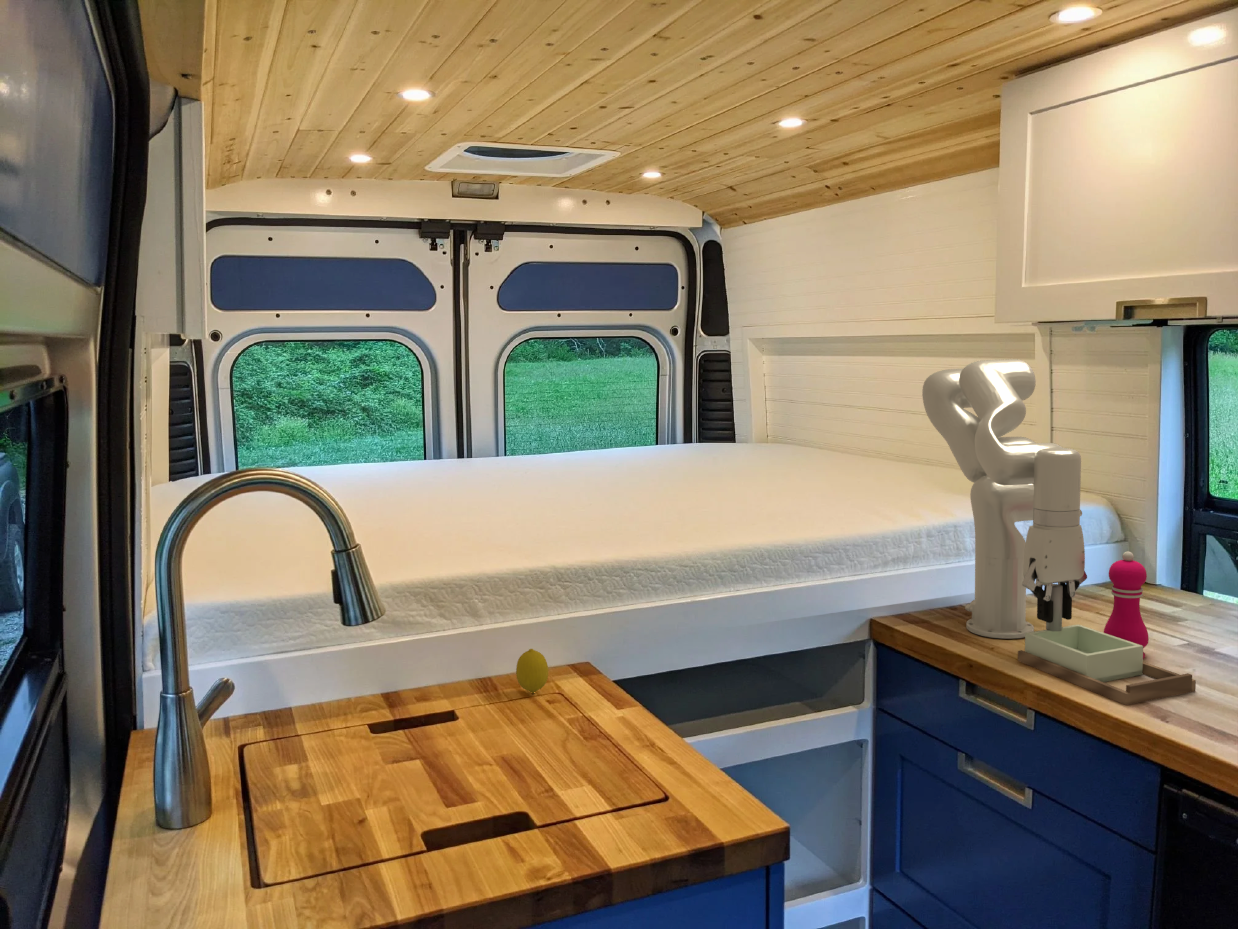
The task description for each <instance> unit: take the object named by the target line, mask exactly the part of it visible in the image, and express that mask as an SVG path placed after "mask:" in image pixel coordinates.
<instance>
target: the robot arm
mask: <svg viewBox="0 0 1238 929" xmlns="http://www.w3.org/2000/svg"><path fill="white" fill-rule="evenodd" d="M1036 382H1037V379H1036V375H1035V371H1034V369H1033V368H1032V367H1031V365H1029V363H1027V362H1026V361H1024V360H1022V359H1018V358H1015V359H1014V358H1013V359H1012V358H1010V359H985V360H984V359H981V360H976V361H974V362H971V363H969V364H967V365H966V366H964V367H963V368H950V369H943V370H942V369H941V370H939V371H936V372H934V373H931V374H930V375H929V376H927V377H926V379H925V380H924V383H923V385H922V391H921V392H922V395H921V397H922V402H923V403H922V404H923V407H924V410H925V413H926V416H927V417H928V419H929V421H930V423H931V424H932V426H933V427H934V428H935V429H936V431H937V432H938V433H939V434H940V436H941V437H943V439H944V440H945V441H946V443H947V445H948V447H949V449H950V451H951V452H952V455H953V457H954V459H955V461H956V462H957V465H958V466H959V468H960V470H961V472H962V474H963V475H964V476H965V477H966V479H967V480H969V481H970V482H971V483H973V484H972V485H971V488H970V497H969V498H970V503H971V504H970V505H971V510H972V516H973V523H974V541H975V542H974V544H975V545H974V551H975V552H974V554H975V555H974V599H973V600H972V601H971V602H970V603H967V604H966V605H965V607H964V610H966V611H968V612H971V618H970V619H968V620H967V621H966V622H965V623H966V630H968V631H969V632H971V633H973V634H975V635H978V636H981V637H986V638H991V639H1007V640H1011V639H1013V640H1014V639H1023V638H1024V639H1025V633H1028V632H1035V627H1034V625H1033V624H1032V623H1031V622H1029V621H1027V619H1026V618H1027V617H1026V614H1027V613H1026V612H1027V610H1026V609H1027V590H1030V592H1031V593H1032V594H1033V596H1034V598H1036V599H1037V601H1036V618H1037V620H1039V621H1042V622H1045V623H1046V622H1048V623H1051V622H1052V621H1053V601H1052V600H1050V598H1051V591H1052V584H1059V585H1062V586H1063V599H1062V619H1064V620H1067V621H1069V620H1072V618H1073V617H1072V615H1073V614H1072V612H1073V610H1072V609H1073V598H1074V597H1076V591H1077V590H1078V588H1079V587H1080V585H1081V584H1083V582H1085V581H1086V580H1087V579H1088V575H1087V573H1086V570H1085V569H1086V568H1085V566H1086V556H1085V554H1086V553H1085V552H1086V551H1085V541H1084V534H1083V529H1082V525H1080V519H1081V518H1080V517H1082V515H1083V511H1082V509H1081V483H1082V481H1081V479H1082V457H1081V454H1080V452H1079V451H1078V450H1076V449H1074V448H1073V449H1072V448H1067V447H1063V446H1061V445H1060V444H1057V443H1053V442H1035V441H1034V440H1033V439H1031V438H1029V437H1025V436H1005V435H1007V434H1009V433H1010V432H1011V433H1012V432H1013V431H1014V430H1015V429H1017V428H1018V427H1019V426H1020V425H1021V424H1022V423H1023V422H1024V420H1025V418H1026V413H1027V407H1026V404H1025V402H1024V401H1025V400H1027V399H1029V398H1030V397H1031V396H1032V395H1033V394H1034V391H1035V389H1036ZM967 408H968V409H971V408H972V410H973V411H974V413H975V414H976V415H975V414H974V413H972V412H971V411H969V410H966V409H967ZM1027 521H1028V522H1029V521H1032V525H1029V526H1028V530H1027V534H1026V538H1024V536H1023V535H1022V533H1021V532H1020V531H1019V529H1018V528H1017V526H1016V524H1015V523H1018V522H1027ZM1043 587H1044V588H1043Z"/></svg>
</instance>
